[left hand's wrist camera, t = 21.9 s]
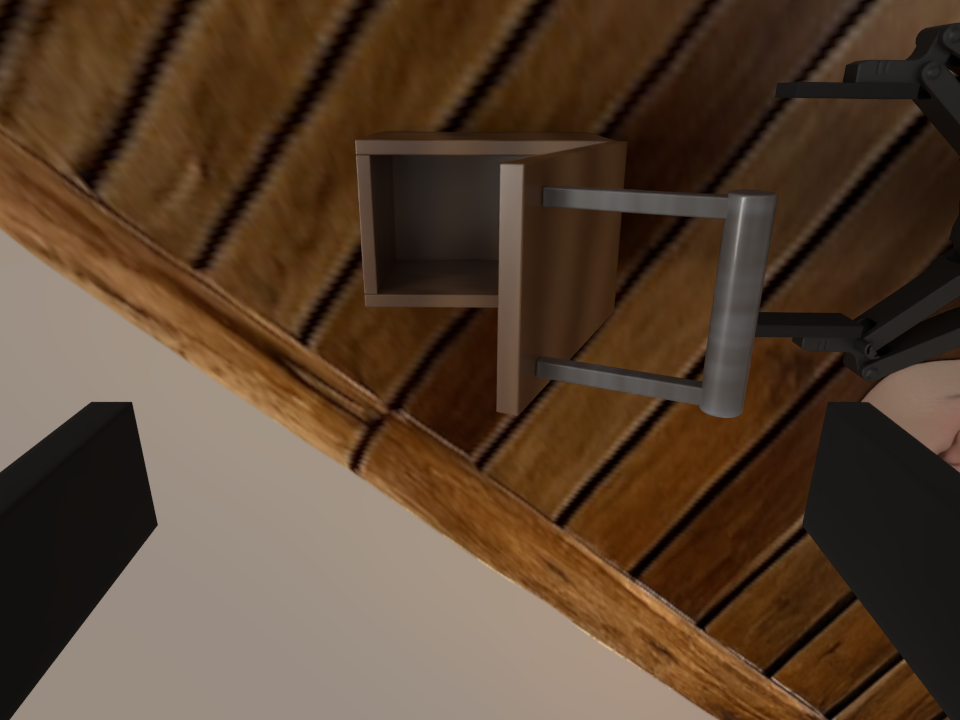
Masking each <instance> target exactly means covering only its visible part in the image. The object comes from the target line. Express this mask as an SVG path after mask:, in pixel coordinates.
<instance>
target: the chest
mask: <svg viewBox="0 0 960 720" xmlns="http://www.w3.org/2000/svg"><path fill="white" fill-rule="evenodd" d="M609 141H615V140H612V139H608V138H605V137H601V136H598V135H594V134H591V133H565V132H380V133H376V134H373V135H370V136H367V137H363V138H360V139H357V140H355V149H356V154H357V155H356V166H357V182H358V198H359V215H360V231H361V247H362V263H363V280H364V293H365V306H366V307H498V274H499V203H500V163H503V162H508V161H513V160H518V159H523V158H528V157H533V156H538V155H543V154H548V153H553V152H558V151H563V150H569V149H574V148H579V147H584V146H589V145H594V144H599V143H604V142H609Z"/></svg>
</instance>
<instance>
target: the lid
mask: <svg viewBox="0 0 960 720" xmlns="http://www.w3.org/2000/svg"><path fill="white" fill-rule="evenodd" d="M626 153H627V142H626V141H609V142H604V143H599V144H594V145H589V146H584V147H579V148H574V149H569V150H563V151H558V152H553V153H548V154H543V155H538V156H533V157H528V158H523V159H518V160H513V161H508V162H503V163H500V203H499V274H498V345H497V412H500V413H505V414H510V415H515V416H518V415H519V414H520V413H521V412H522V411H523V410H524V408H525V407H526V406H527V405H528V404H529V403H530V402H531V401H532V400H533V399H534V398H535V397H536V395H537V394H538V393H539V392H540V391H541V390H542V389H543V388H544V387H545V386H546V385H547V383H548V382H549V381H550V380H551V379H552V380H558V381H563V382H569V383H575V384H581V385H586V386H592V387H598V388H604V389H609V390H615V391H621V392H627V393H632V394H638V395H644V396H650V397H656V398H661V399H667V400H673V401H679V402H684V403H690V404H696V405H699V407H700V409H701V410H702V411H703V412H705V413H707V414H709V415H712V416H716V417H722V418H732V417H737V416H739V415H740V414H741V413H742V412H743V406H744V400H745V394H746V387H747V381H748V375H749V369H750V363H751V357H752V351H753V344H754V338H755V332H756V326H757V320H758V314H759V308H760V301H761V295H762V289H763V283H764V277H765V271H766V265H767V259H768V252H769V246H770V240H771V234H772V228H773V222H774V216H775V209H776V203H777V197H778V196H777V194H776V193H773V192H768V191H759V190H734V191H730V192H729V193H728V195H720V194H702V193H684V192H666V191H648V190H629V189H624V178H625V165H626ZM622 212H627V213H641V214H656V215H671V216H685V217H700V218H714V219H724V225H723V232H722V239H721V247H720V254H719V261H718V269H717V276H716V284H715V291H714V298H713V306H712V313H711V320H710V328H709V335H708V342H707V350H706V357H705V364H704V372H703V379H702V382H701V381H695V380H689V379H683V378H676V377H670V376H664V375H658V374H652V373H645V372H639V371H633V370H627V369H620V368H614V367H608V366H602V365H595V364H589V363H583V362H577V361H570V358H571V357H572V356H573V355H574V354H575V353H576V352H577V351H578V350H579V349H580V348H581V347H582V345H583V344H584V343H585V342H586V341H587V340H588V339H589V338H590V337H591V336H592V335H593V333H594V332H595V331H596V330H597V329H598V328H599V327H600V326H601V325H602V324H603V323H604V321H605V320H606V319H607V318H608V317H609V316H610V315H611V314H612V313H613V312H614V302H615V290H616V277H617V265H618V252H619V240H620V227H621V215H622Z"/></svg>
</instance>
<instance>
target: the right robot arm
mask: <svg viewBox="0 0 960 720" xmlns="http://www.w3.org/2000/svg"><path fill="white" fill-rule="evenodd" d="M949 70H951V71H953V72H954V73H956V74H957V75H959V76H960V23H953V24H947V25H941V26H935V27H929V28H925V29H923V30H922V31H921V32H920V33H919V34H918V36H917V38H916V48H915V50H914V52H913V53H912V55H911V56H910V57H909V58H907V59H906V60H864V61H856V62H853V63H850V64H848V65H846V68H845V73H844V78H843V83H831V82H791V83H777V89H776V95H775V97H776V98H847V99H912V100H913V101H914V102H915V104H916V105H917V106H918V107H919V108H920V109H921V111H922V112H923V113H924V114H925V115H926V116H927V118H928V119H929V120H930V121H931V122H932V124H933V125H934V126H935V127H936V128H937V129H938V131H939V132H940V133H941V134H942V135H943V136H944V138H945V139H946V140H947V141H948V142H949V144H950V145H951V146H952V147H953V148H954V149H955V151H956V152H957V153H958V154H959V155H960V83H959V82H958V80H957V79H956V78H955V77H954V76H953V74H952V73H951V72H950V71H949ZM959 160H960V159H959ZM949 240H951V241H953V244H954V247H953V248H952V249H950V250H949V251H947V252H946V253H944V254H943V255H941V256H940V257H938V258H937V259H935V260H934V261H933V262H932V267H931V268H930V269H928V270H927V271H925V272H924V273H922V274H921V275H919V276H918V277H916V278H915V279H914V280H912V281H911V282H909V283H908V284H906V285H905V286H903V287H902V288H900V289H899V290H897V291H896V292H894V293H893V294H891V295H890V296H888V297H887V298H885V299H884V300H882V301H881V302H879V303H878V304H876V305H875V306H873V307H872V308H870V309H869V310H867V311H866V312H865V313H863V314H862V315H860V316H859V317H857V318H856V319H854V320H852V319H850V318H848V317H846V316H845V315H843V314H841V313H782V312H759V314H758V320H757V326H756V332H755V337H793V338H792V341H793V342H794V343H795V344H797V345H798V346H799V347H801V348H802V349H804V350H807V351H811V352H818V351H819V352H824V351H825V352H845V356H844V358H843V363H844V365H845V366H846V367H848V368H849V369H850V370H852V371H853V372H855V373H856V374H857V375H859V376H860V377H862V378H863V379H864V380H866V381H870V382H871V381H875V380H878V379H880V378H883V377H885V376H888V375H890V374H893V373H895V372H897V371H900V370H902V369H905V368H907V367H910V366H912V365H915V364H917V363H920V362H922V361H925V360H927V359H930V358H932V357H935V356H937V355H940V354H942V353H945V352H947V351H950V350H952V349H955V348H957V347H960V307H958V308H955V309H952V310H949V311H946V312H944V313H942V314H939V315H937V316H934V317H932V318H929V319H927V320H925V321H922V320H924V319H925V318H927V317H929V316H930V315H932V314H933V313H935V312H936V311H938V310H939V309H941V308H942V307H944V306H945V305H947V304H948V303H950V302H951V301H953V300H954V299H956V298H957V297H959V296H960V204H959V216H958V218H957V220H956V222H955V224H954V225H953V227H952V231H951V235H950V238H949ZM921 321H922V322H921ZM919 322H920V323H919Z"/></svg>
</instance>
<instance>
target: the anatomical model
mask: <svg viewBox="0 0 960 720" xmlns="http://www.w3.org/2000/svg"><path fill="white" fill-rule="evenodd" d="M861 402H869V403H871V404H872V405H873V406H874V407H876V408H877V409H878V410H880V411H881V412H882V413H884V414H885V415H886V416H887V417H889V418H890V419H891V420H893V421H894V422H895V423H896V424H898V425H899V426H900V427H902V428H903V429H904V430H906V431H907V432H908V433H909V434H911V435H912V436H913V437H915V438H916V439H917V440H918V441H920V442H921V443H922V444H924V445H925V446H926V447H927V448H929V449H930V450H931V451H933V452H934V453H935V454H937V455H938V456H939V457H940V458H942V459H943V460H944V461H946V462H947V463H948V464H949V465H951V466H952V467H953V468H955V469H956V470H957V471H959V472H960V360H944V361H934V362H926V363H919V364H915V365H912V366H910V367H907V368H905V369H902V370H900V371H897V372H895V373H893V374H890V375H888V376H887V377H885V378H884V379H883V380H882V381H880V382H879V383H878V384H877V385H876V386H875V387H874V388H873V389H872V390H871V391H870V392H869V393H868V394H867V395H866V397H865V398H864V399H863V400H862V401H861Z"/></svg>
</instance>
